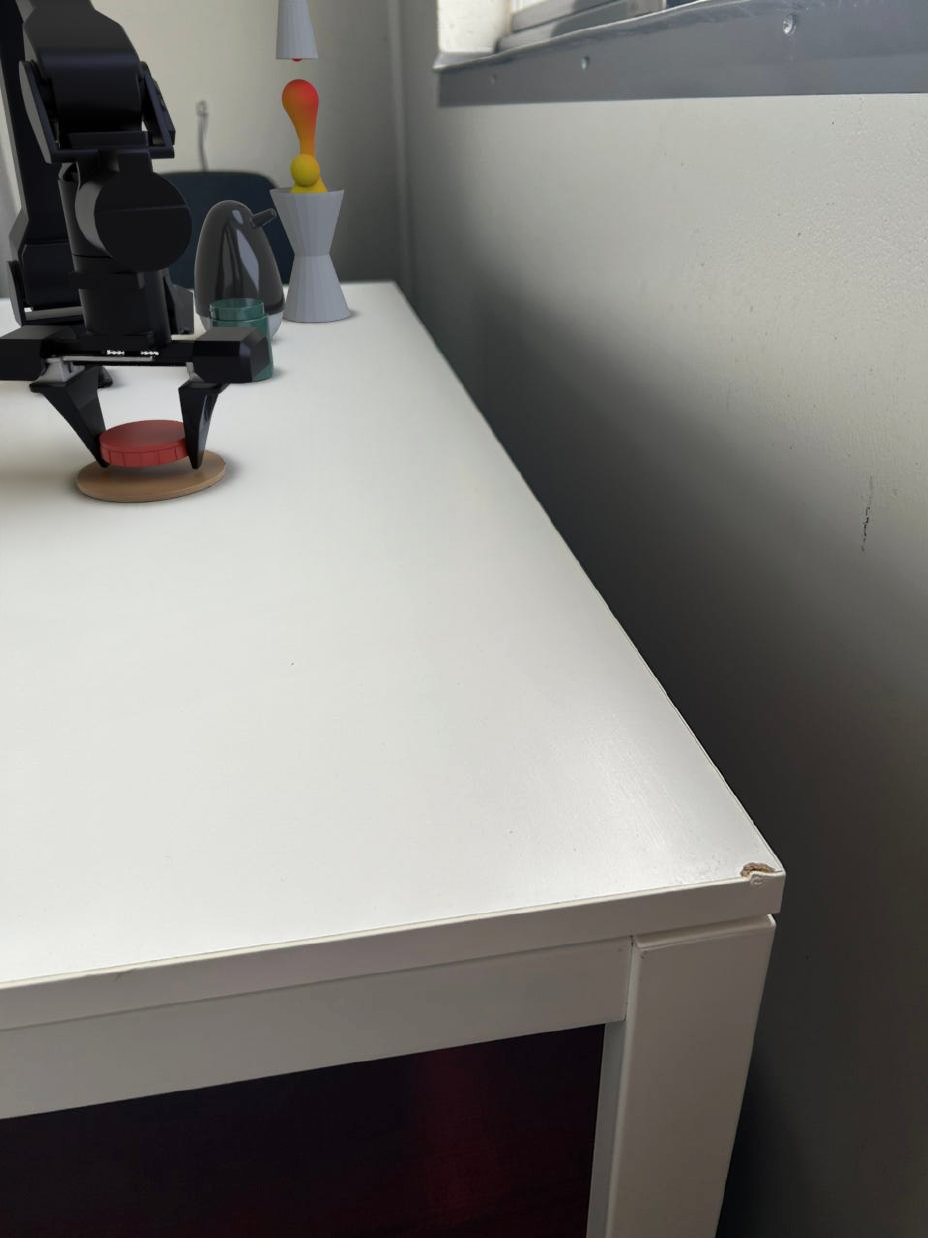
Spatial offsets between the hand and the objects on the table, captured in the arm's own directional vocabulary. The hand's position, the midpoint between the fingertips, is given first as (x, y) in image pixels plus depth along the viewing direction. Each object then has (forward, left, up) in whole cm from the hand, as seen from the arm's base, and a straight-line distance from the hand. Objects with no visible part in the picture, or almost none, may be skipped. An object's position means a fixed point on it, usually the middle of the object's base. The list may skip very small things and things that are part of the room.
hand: (151, 466), depth 75 cm
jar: (-26, +14, -1) cm, 30 cm away
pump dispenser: (-41, +18, -1) cm, 45 cm away
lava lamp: (-51, +30, -1) cm, 59 cm away
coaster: (0, 0, -1) cm, 1 cm away
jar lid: (0, 0, +2) cm, 2 cm away
